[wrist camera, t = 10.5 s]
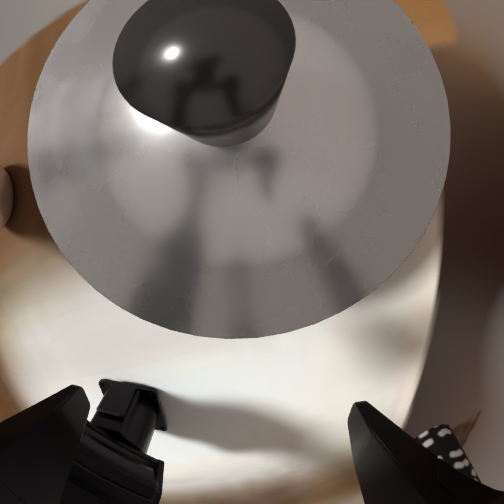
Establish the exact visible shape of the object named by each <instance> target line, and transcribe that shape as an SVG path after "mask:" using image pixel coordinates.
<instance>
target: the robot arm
mask: <svg viewBox="0 0 504 504" xmlns="http://www.w3.org/2000/svg"><path fill="white" fill-rule="evenodd" d="M99 386H100V388H101V391H102V393H103V395H104V397H103V398H102V400H101V402H100V403H99V405H98V407H97V409H96V410H97V411H96V413H95V415H94V417H93V418H92V420H91V422H89V421H88V420H87V417H88V414H89V410H90V402H89V400H88V398H87V396H86V394H85V391H84V389H83V388H82V387H80V386H77V385H70V386H68V387H66V388H64V389H63V390H61V391H59V392H57V393H55V394H53V395H52V396H50V397H48V398H46V399H44V400H42V401H40V402H38V403H37V404H35V405H33V406H31V407H29V408H27V409H25V410H23V411H21V412H19V413H18V414H16V415H14V416H12V417H10V418H8V419H6V420H4V421H2V423H1V422H0V504H159V501H160V498H161V495H162V484H163V471H164V461H161V460H159V459H158V460H157V459H155V458H153V457H151V456H149V455H147V454H146V453H147V450H148V447H149V444H150V441H151V438H152V435H153V433H154V430H155V429H156V430H162V431H166V430H167V427H168V426H167V423H166V420H165V416H164V413H163V410H162V406H161V403H160V399H159V396H158V392H157V391H156V390H155V389H153V388H147V387H141V386H135V385H129V384H124V383H119V382H114V381H109V380H104V379H101V380H100V381H99ZM348 429H349V436H350V442H351V449H352V456H353V462H354V466H355V470H356V473H357V477H358V480H359V484H360V488H361V491H362V495H363V499H364V503H365V504H504V491H499V490H495V489H493V488H491V487H489V486H486V485H484V484H482V483H480V482H478V481H476V480H474V479H472V478H471V477H469V476H467V475H465V474H463V473H462V472H460V471H458V470H457V469H455V468H454V467H452V466H451V465H449V464H448V463H446V462H445V461H443V460H442V459H441V458H438V456H436V455H435V454H434V453H432V452H431V451H430V450H428V449H427V448H426V447H424V446H423V445H422V444H420V443H419V442H418V441H417V440H415V439H414V438H413V437H411V436H410V435H409V434H407V433H406V432H405V431H404V430H402V429H401V428H400V427H398V426H397V425H396V424H395V423H393V422H392V421H391V420H390V419H388V418H387V417H386V416H385V415H383V414H382V413H381V412H380V411H378V410H377V409H376V408H375V407H373V406H372V405H371V404H370V403H368V402H367V401H360V402H355V403H354V404H353V405H352V408H351V411H350V414H349V417H348Z"/></svg>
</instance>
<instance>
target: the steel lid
mask: <svg viewBox="0 0 504 504" xmlns="http://www.w3.org/2000/svg"><path fill="white" fill-rule="evenodd" d="M449 155H450V118H449V109H448V103H447V97H446V93H445V90H444V86H443V82H442V79H441V76H440V72H439V70H438V67H437V65H436V63H435V60H434V58H433V56H432V54H431V51H430V49H429V47H428V46H427V44H426V42H425V41H424V39H423V37H422V36H421V34H420V33H419V31H418V29H417V28H416V26H415V25H414V24H413V22H412V21H411V20H410V19H409V17H408V16H407V15H406V14H405V13H404V11H403V10H402V9H401V8H400V7H399V6H398V5H397V4H396V3H395V2H394V1H393V0H90V1H89V2H88V3H87V4H86V5H85V6H84V7H83V8H82V10H81V11H80V12H79V13H78V14H77V15H76V16H75V17H74V18H73V20H72V21H71V22H70V24H69V25H68V26H67V28H66V29H65V30H64V32H63V33H62V35H61V36H60V38H59V39H58V41H57V43H56V44H55V46H54V48H53V50H52V51H51V53H50V55H49V57H48V59H47V61H46V63H45V65H44V68H43V70H42V73H41V75H40V78H39V81H38V83H37V86H36V90H35V94H34V98H33V102H32V106H31V111H30V118H29V127H28V162H29V170H30V177H31V183H32V187H33V191H34V194H35V198H36V201H37V205H38V208H39V210H40V213H41V215H42V217H43V220H44V222H45V224H46V227H47V229H48V231H49V233H50V234H51V236H52V238H53V239H54V241H55V243H56V244H57V246H58V248H59V249H60V251H61V252H62V254H63V255H64V256H65V257H66V259H67V260H68V261H69V262H70V264H71V265H72V266H73V267H74V269H75V270H76V271H77V272H78V273H79V274H80V275H81V276H82V277H83V278H84V279H85V280H86V281H87V282H88V283H89V284H90V285H91V286H92V287H93V288H94V289H96V290H97V291H98V292H99V293H101V294H102V295H103V296H105V297H106V298H107V299H109V300H110V301H112V302H113V303H114V304H116V305H117V306H119V307H120V308H122V309H124V310H126V311H128V312H130V313H132V314H133V315H135V316H137V317H139V318H141V319H143V320H145V321H148V322H151V323H153V324H156V325H159V326H161V327H164V328H167V329H170V330H174V331H178V332H182V333H187V334H191V335H195V336H202V337H213V338H224V339H237V338H258V337H264V336H270V335H276V334H282V333H287V332H290V331H294V330H297V329H300V328H303V327H307V326H310V325H313V324H316V323H318V322H320V321H322V320H325V319H327V318H329V317H331V316H333V315H335V314H338V313H340V312H342V311H343V310H345V309H347V308H348V307H350V306H352V305H353V304H355V303H356V302H358V301H359V300H361V299H363V298H364V297H366V296H367V295H368V294H370V293H371V292H372V291H373V290H374V289H376V288H377V287H378V286H379V285H380V284H382V283H383V282H384V281H385V280H386V279H387V278H389V277H390V276H391V274H392V273H393V272H394V271H395V270H396V269H397V268H398V267H399V266H400V265H401V263H402V262H403V261H404V260H405V259H406V258H407V257H408V256H409V254H410V253H411V251H412V250H413V248H414V247H415V246H416V244H417V243H418V241H419V240H420V238H421V237H422V235H423V233H424V232H425V230H426V228H427V226H428V224H429V222H430V220H431V218H432V216H433V214H434V212H435V210H436V207H437V205H438V202H439V199H440V196H441V193H442V190H443V186H444V183H445V180H446V174H447V168H448V162H449Z"/></svg>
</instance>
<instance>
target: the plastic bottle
mask: <svg viewBox="0 0 504 504" xmlns="http://www.w3.org/2000/svg"><path fill="white" fill-rule="evenodd" d="M12 207H13V187H12V182H11V179H10V177H9V175H8V173H7V172H6V171H5V170H4V169H3V168H2V167H1V166H0V229H2V228H3V227H4V226H5V224H6V222H7V220H8V219H9V217H10V214H11V212H12Z"/></svg>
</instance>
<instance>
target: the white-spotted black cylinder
mask: <svg viewBox="0 0 504 504" xmlns="http://www.w3.org/2000/svg"><path fill="white" fill-rule="evenodd" d="M415 440H417V441H418V442H419V443H420V444H422V445H423V446H424V447H426V448H427V449H428V450H430V451H431V452H432V453H434V454H435V455H436V456H438V458H441V459H442V460H443V461H445V462H446V463H448V464H449V465H451V466H452V467H454V468H455V469H457V470H458V471H460V472H462V473H463V474H465V475H467V476H469V477H471V478H472V479H474V480H476V481H478V482H480V483H481V481H480V479H479V477H478V476H477V474H476V472H475V470H474V468H473V467H472V464H471V463H470V461H469V459H468V457H467V456H466V454H465V452H464V450H463V449H462V447H461V445H460V443H459V442H458V440H457V438H456V437H455V435H454V433H453V432H452V430H451V428H450V427H449V425H446V424H442V425H438V426H436V427H433V428H431V429H429V430H427V431H425V432H424V433H422V434H421V435H419V436H418V437H416V438H415Z"/></svg>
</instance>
